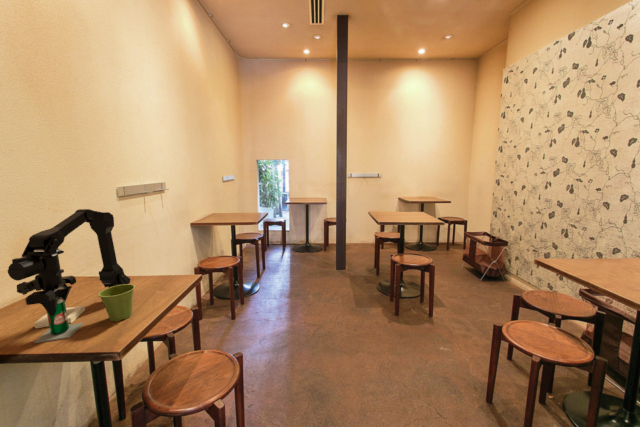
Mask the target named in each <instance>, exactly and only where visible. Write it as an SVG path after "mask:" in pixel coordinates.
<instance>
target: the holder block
mask: <svg viewBox="0 0 640 427" xmlns="http://www.w3.org/2000/svg"><path fill="white" fill-rule="evenodd" d="M85 311H86V308H85V305H79V306H78V305H77V306H71V307H66V312H67V317H68V323H69V324H73V322H74V321H75V320H77V319H78V317H79V316H81V315H82V314H83V313H84V312H85ZM46 327H48V328H49V322H48V317H47V313H45V315H43V316H42V317H40V318H39V319H38V320H36V321H35V322H34V328H35V329H40V328H46Z"/></svg>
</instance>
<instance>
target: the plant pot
mask: <svg viewBox="0 0 640 427" xmlns="http://www.w3.org/2000/svg"><path fill="white" fill-rule="evenodd" d="M135 288H136V286H135V284H132V283H130V284H123V285H117V286H113V287H110V288H108V287H106V288H105V289H102V290H101V291H99V292H98V294H97V296H98V298H99V297H100V299H101V300H100V301H102V302H103V304H104V308H105V311H106V313H107V315H108V318H109V320H110V321H111V322H120V321H122V320H127V319H129V318H130V317H131V316H132V315H133V299H134V298H133V297H134V290H135Z"/></svg>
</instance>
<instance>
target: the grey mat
mask: <svg viewBox="0 0 640 427" xmlns="http://www.w3.org/2000/svg"><path fill="white" fill-rule="evenodd" d="M83 325H84V322H79V323H70V324H69V329H68V330H67V331H66V332H64V333H61V334H57V335H53V334H51V333H50V328H48V329H47V330H46V331H45V332H44V333H43V334H41V335H40V336H39V338H37V339H36V340H34V342H33V343H34V344H39V343H47V342H52V341H60V340H66V339H71V337H73V335H74V334H76V333H77V331H79V329H80V328H81V327H82V326H83Z"/></svg>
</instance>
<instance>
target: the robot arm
mask: <svg viewBox="0 0 640 427" xmlns="http://www.w3.org/2000/svg"><path fill="white" fill-rule="evenodd" d="M85 223H88V224H89V226H90V229H91V230H92V231H93V232H94V233H95V235H96V236H97V241H98V246H99V247H98V248H99V251H100V256H101V262H102V266H103V267H102V269H101V270H100V271H99V270H98V276H99V281H101V283H102V285H103V286H104V288H110V287H113V286H117V285H123V284H131V278H130V277H129V276H127V275H126V274H125V271H124V269H123V267H121V265H120V264H119V263H118V260H117V255H116V249H115V245H114V244H115V243H114V241H113V235H112V230H113V228H114V226H115V219H114V215H113V214H112V213H111V212H108V211H107V212H105V211H104V212H103V211H96V210H92V209H90V208H88V209H87V208H83V209H82V208H81V209H80V208H79V209H77V210H76V211H74V212H73V213H72V214H71V215H70V216H68V217H66V218H65V219H63V220H62V221H60V222H59V223H57V224H56V225H55V226H53V227H51V228H48V229H45V230H42V231H38V232H37V233H34V234H32V235H31V236H29V239H28V243H27V244H26V246H25V248H24V250H23V253H22V254H21V257H15V258H12V260H11V261H12V263H10V264H9V266H8V269H7V274H8V276H9V277H10V279H13V281H22V282H20V283H18V284H16V293H18V294H22V295H23V296H25V295H27V294H28V293H30V292H31V294H28V295H27V296H26V298H25V299H24V300H25V304H26V305H27V306H30V305H39V304H40V305H41V306H42V307H43V308H44V309H45V311H46V313H47V312H48V313H49V315H50V316H54V315H55V312H56V308H57V303H58V298H59V297H62V298H63V299H64V300H65V303H66V301H67V299H68V296H69V294H70V292H71V289H72V288H73V285H74V284H76V283H77V278H76V277H75V276H73V275H67V276H62V275H63V273H64V272H65V271H64V269H61V264H60V263H61V262H60V257H59V255H61V254H64V252H65V251H64V250H62V249H60V248H59V247H61V245H62V244H63V243H64V242H65V238H66V237H67V236H68V235H70V234H71V233H72V232H73V231H75V230H76V229H78V228H79V227H80V226H82V225H83V224H85ZM33 276H34V279H31V280H29V281H23V280H24V279H25V280H26V279H27V278H30V277H33ZM68 284H69V285H70V286H69V285H68ZM32 291H33V292H32Z"/></svg>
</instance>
